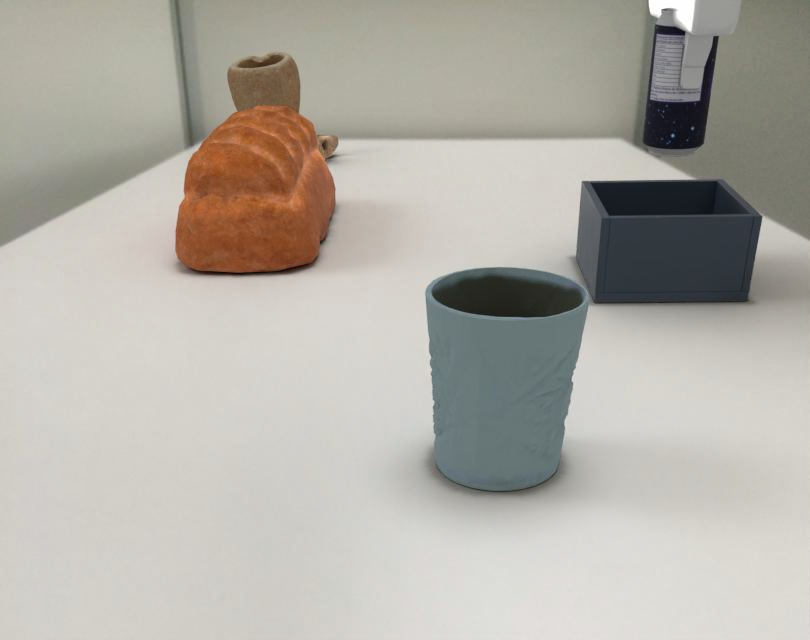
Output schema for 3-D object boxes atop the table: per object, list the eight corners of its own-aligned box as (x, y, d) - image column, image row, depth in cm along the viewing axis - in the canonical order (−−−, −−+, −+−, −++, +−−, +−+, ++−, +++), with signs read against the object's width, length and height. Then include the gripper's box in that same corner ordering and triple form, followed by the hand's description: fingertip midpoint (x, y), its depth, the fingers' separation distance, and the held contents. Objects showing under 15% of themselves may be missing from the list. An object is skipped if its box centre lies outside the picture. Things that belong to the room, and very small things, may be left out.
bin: (711, 256, 105) (723, 178, 100) (747, 301, 92) (763, 216, 88) (575, 257, 105) (581, 180, 101) (594, 302, 93) (601, 218, 88)
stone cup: (223, 169, 145) (210, 58, 137) (248, 152, 155) (238, 48, 147) (321, 171, 143) (314, 58, 135) (340, 154, 152) (335, 48, 144)
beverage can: (714, 155, 91) (736, 9, 84) (663, 161, 89) (681, 13, 83) (679, 144, 95) (696, 5, 89) (629, 149, 93) (644, 8, 87)
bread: (341, 200, 128) (335, 92, 121) (314, 274, 102) (305, 142, 95) (224, 201, 129) (211, 94, 122) (167, 275, 102) (147, 144, 95)
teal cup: (403, 444, 69) (400, 278, 62) (527, 417, 72) (536, 256, 66) (468, 511, 61) (472, 329, 55) (604, 476, 64) (622, 301, 58)
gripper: (777, -101, 72) (746, 99, 80) (712, -99, 90) (691, 66, 97) (692, -99, 73) (669, 101, 80) (643, -97, 90) (628, 67, 97)
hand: (680, 81), depth 89 cm, fingers closed on beverage can, 5 cm apart
